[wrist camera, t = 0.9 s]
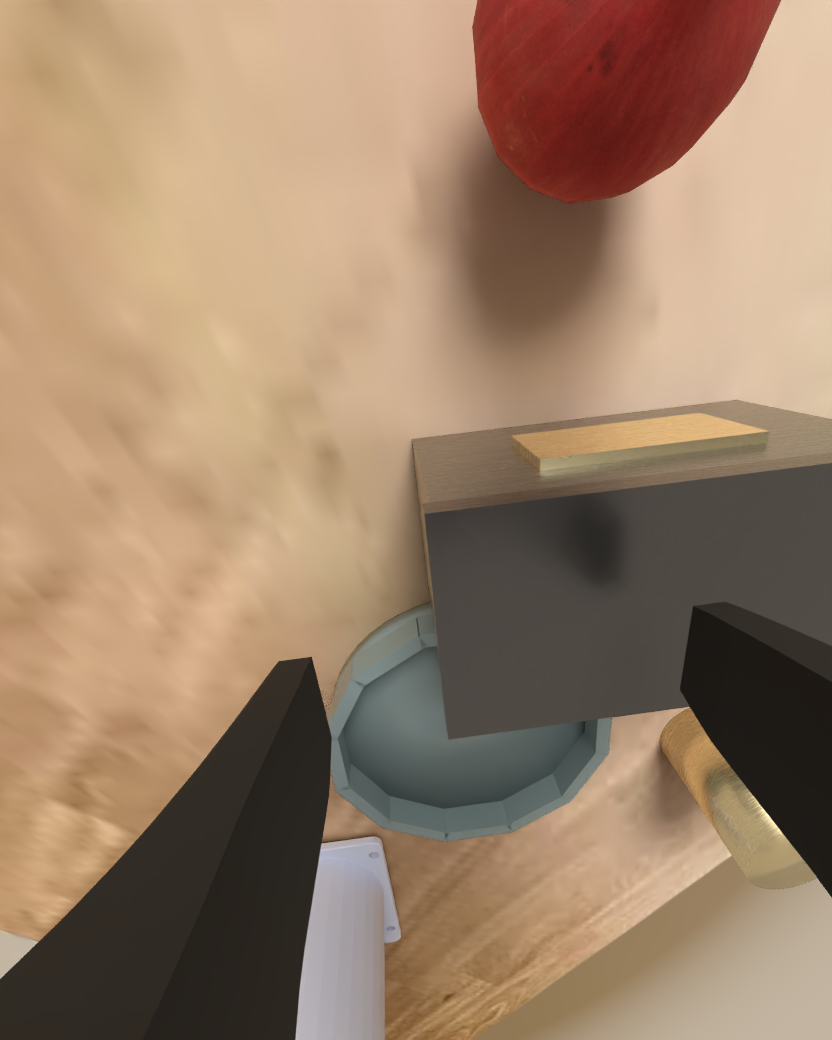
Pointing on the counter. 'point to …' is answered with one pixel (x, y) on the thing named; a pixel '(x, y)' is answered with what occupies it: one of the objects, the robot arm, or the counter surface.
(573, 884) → the counter surface
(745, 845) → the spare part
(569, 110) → the onion
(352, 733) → the plate
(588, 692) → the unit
